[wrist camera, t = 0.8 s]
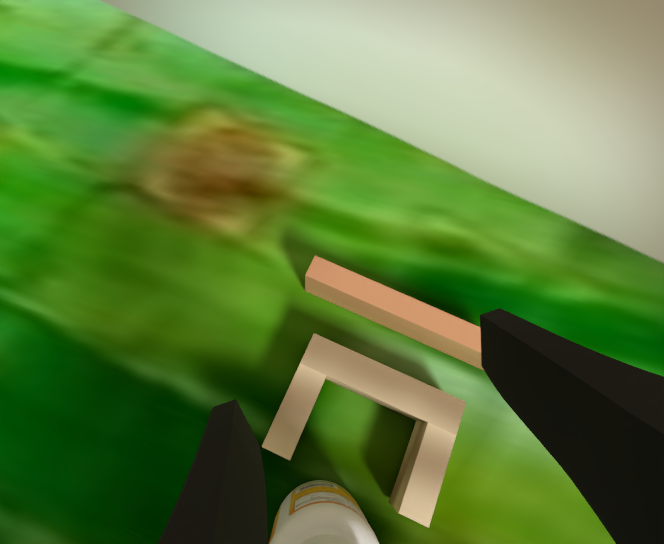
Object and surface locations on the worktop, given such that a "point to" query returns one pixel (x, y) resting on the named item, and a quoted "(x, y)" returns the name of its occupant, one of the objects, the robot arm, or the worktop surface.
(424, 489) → the slot block
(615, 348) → the worktop surface
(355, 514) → the supplement bottle
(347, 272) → the rail
